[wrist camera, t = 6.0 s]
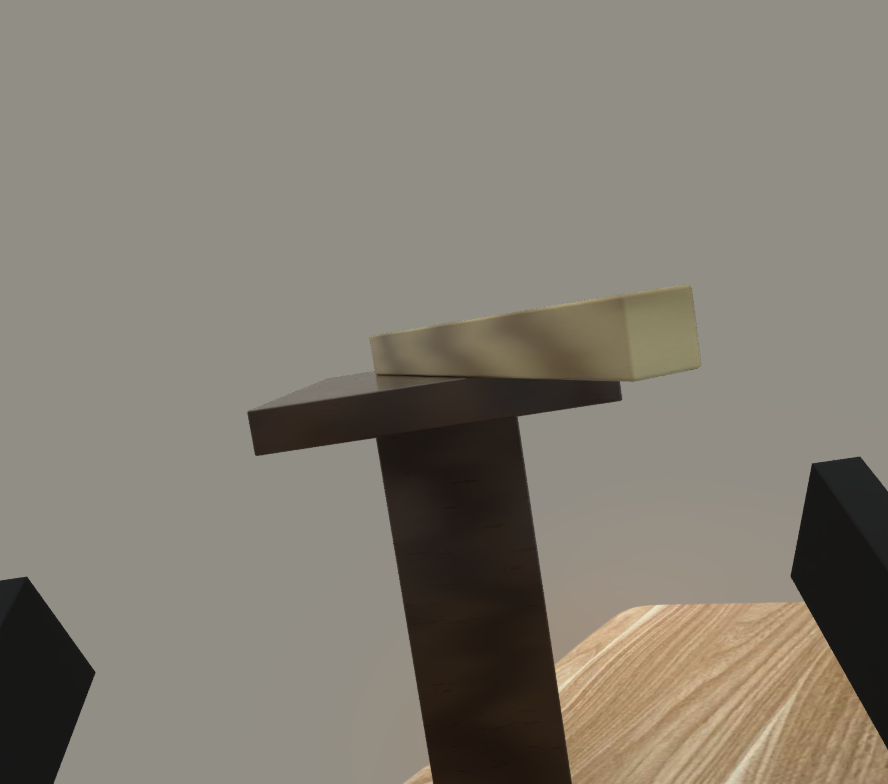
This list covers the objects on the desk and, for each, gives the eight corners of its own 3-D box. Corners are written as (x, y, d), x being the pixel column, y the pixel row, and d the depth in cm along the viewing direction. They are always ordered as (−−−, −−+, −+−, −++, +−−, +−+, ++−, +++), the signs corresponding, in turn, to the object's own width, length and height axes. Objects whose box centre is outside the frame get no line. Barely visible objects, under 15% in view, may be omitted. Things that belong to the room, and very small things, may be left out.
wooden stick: (704, 367, 16) (693, 283, 15) (632, 382, 15) (621, 294, 15) (411, 368, 34) (405, 330, 34) (375, 374, 34) (368, 336, 34)
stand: (388, 1193, 26) (246, 411, 24) (415, 878, 41) (330, 377, 39) (724, 1156, 26) (616, 354, 23) (628, 851, 41) (556, 342, 38)
